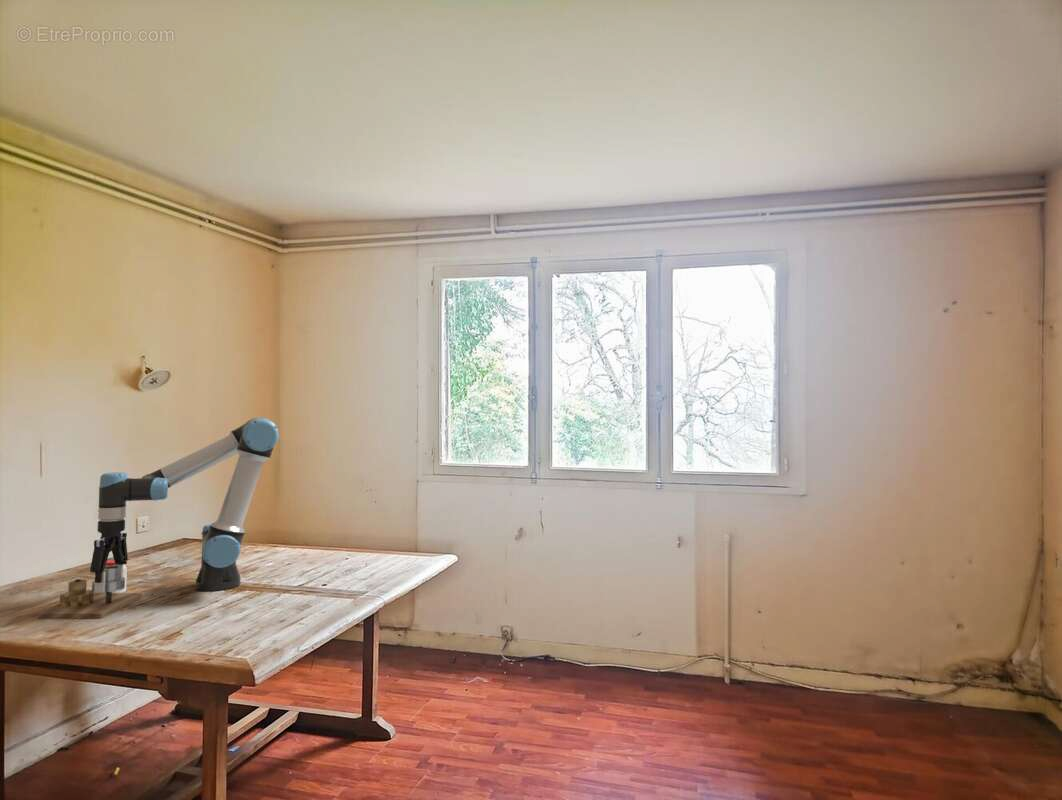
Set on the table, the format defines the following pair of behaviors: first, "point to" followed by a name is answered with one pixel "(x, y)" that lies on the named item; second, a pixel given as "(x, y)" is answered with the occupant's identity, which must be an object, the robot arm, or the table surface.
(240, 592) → the table surface
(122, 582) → the steel gear
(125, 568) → the pill bottle
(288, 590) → the table surface
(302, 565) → the table surface
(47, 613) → the gear board
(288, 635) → the table surface
